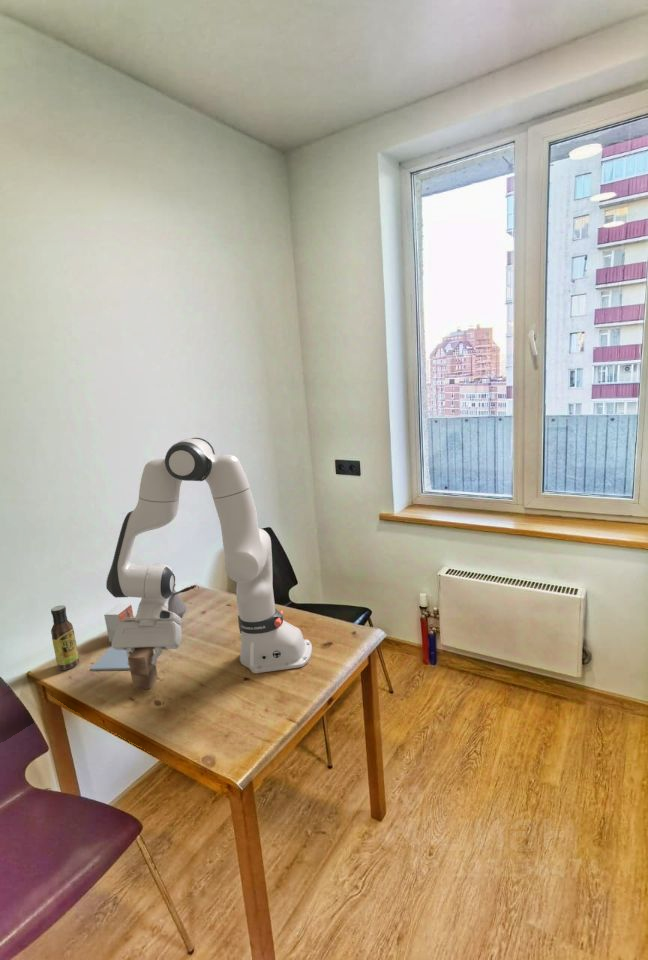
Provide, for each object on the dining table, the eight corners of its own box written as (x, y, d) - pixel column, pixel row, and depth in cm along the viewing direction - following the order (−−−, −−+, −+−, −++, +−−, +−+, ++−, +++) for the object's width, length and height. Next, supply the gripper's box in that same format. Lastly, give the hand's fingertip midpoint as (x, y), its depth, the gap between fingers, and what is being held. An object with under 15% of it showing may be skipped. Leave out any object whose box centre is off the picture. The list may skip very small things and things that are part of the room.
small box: (123, 642, 162) (117, 614, 160) (109, 642, 163) (103, 614, 161) (136, 630, 170) (131, 603, 168) (123, 630, 171) (117, 603, 169)
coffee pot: (149, 622, 175) (142, 584, 172) (172, 608, 185) (166, 572, 182) (191, 632, 165) (185, 592, 162) (213, 616, 175) (208, 579, 172)
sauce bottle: (68, 672, 147) (55, 614, 143) (53, 670, 149) (40, 612, 145) (84, 660, 153) (72, 604, 149) (70, 658, 155) (58, 602, 151)
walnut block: (158, 678, 140) (152, 647, 138) (150, 688, 135) (144, 657, 133) (142, 678, 140) (136, 648, 138) (133, 689, 136) (127, 657, 134)
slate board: (152, 644, 159) (152, 643, 159) (132, 669, 145) (131, 667, 145) (114, 645, 161) (113, 644, 161) (90, 670, 147) (89, 668, 147)
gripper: (114, 615, 142) (101, 663, 134) (178, 612, 140) (170, 661, 132) (124, 621, 147) (113, 668, 140) (186, 619, 145) (179, 666, 137)
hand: (141, 665), depth 136 cm, fingers closed on walnut block, 5 cm apart
